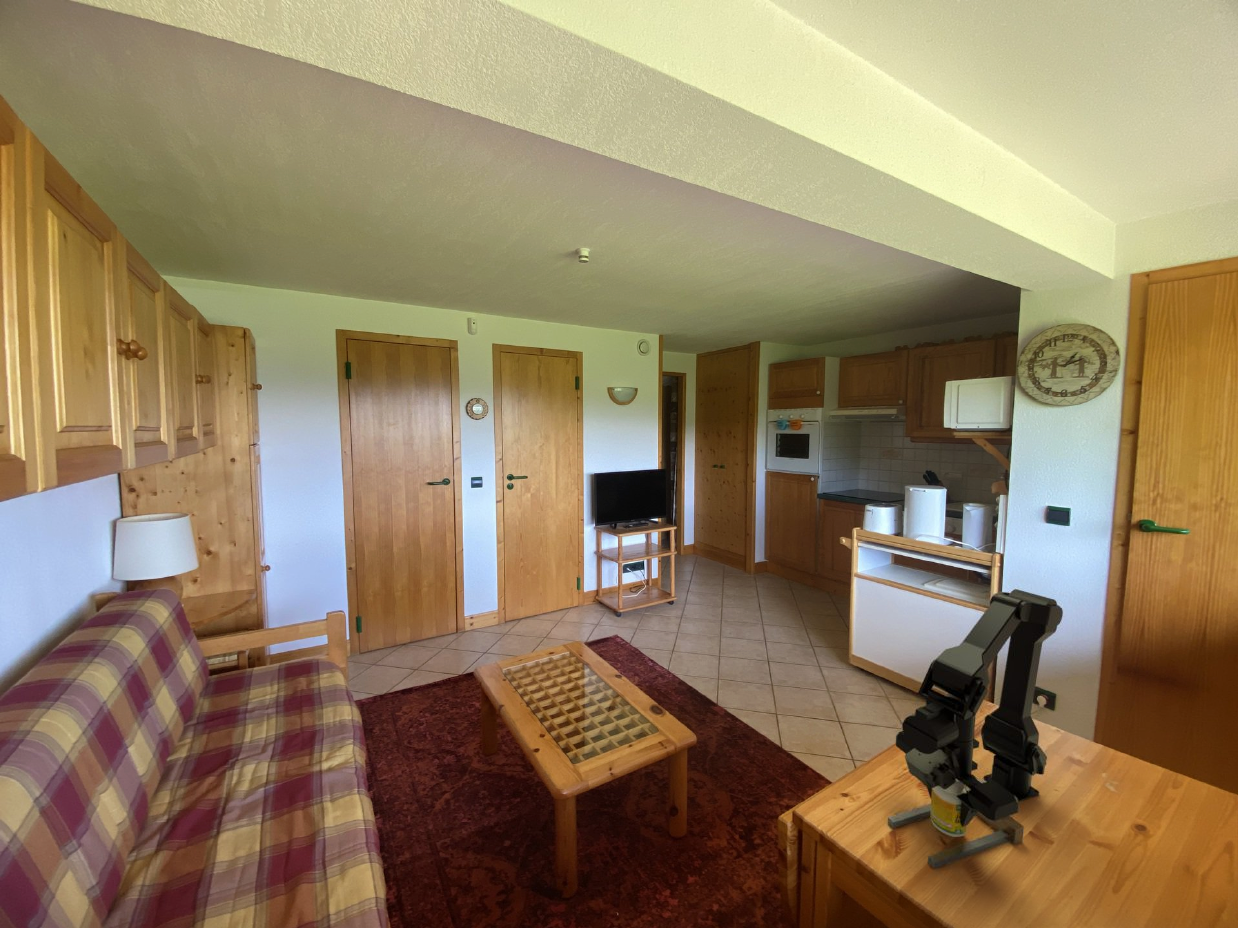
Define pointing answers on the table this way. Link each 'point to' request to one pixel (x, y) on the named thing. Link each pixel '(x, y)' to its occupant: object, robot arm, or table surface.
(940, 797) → the supplement bottle
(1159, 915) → the table surface
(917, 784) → the table surface
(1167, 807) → the table surface
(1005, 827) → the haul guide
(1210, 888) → the table surface
